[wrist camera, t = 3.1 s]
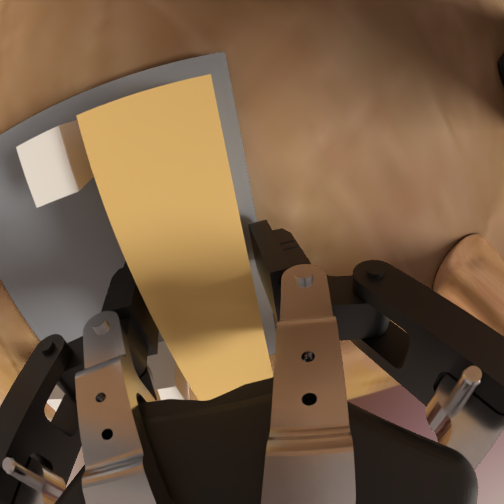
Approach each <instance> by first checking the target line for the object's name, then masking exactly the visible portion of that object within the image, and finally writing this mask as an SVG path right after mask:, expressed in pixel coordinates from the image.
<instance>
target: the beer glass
mask: <svg viewBox="0 0 504 504" xmlns="http://www.w3.org/2000/svg"><path fill="white" fill-rule="evenodd" d="M433 291H435V292H436V293H438V294H440V295H441V296H443V297H444V298H446V299H448V300H449V301H451V302H452V303H454V304H456V305H457V306H459V307H460V308H462V309H463V310H465V311H466V312H468V313H469V314H471V315H473V316H474V317H476V318H477V319H479V320H480V321H482V322H483V323H485V324H486V325H488V326H489V327H491V328H492V329H494V330H495V331H496V332H498V333H499V334H501V335H502V336H504V259H503V258H502V256H501V255H500V254H499V253H498V252H497V251H496V250H495V249H494V248H493V246H492V245H491V244H490V243H489V242H488V241H487V240H486V239H485V238H484V237H483V236H482V235H479V234H472V235H469V236H467V237H465V238H463V239H462V240H460V241H459V242H458V243H457V244H456V245H455V246H454V247H453V248H452V249H451V250H450V251H449V253H448V254H447V255H446V257H445V258H444V260H443V262H442V263H441V265H440V267H439V269H438V271H437V274H436V277H435V280H434V284H433Z"/></svg>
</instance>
